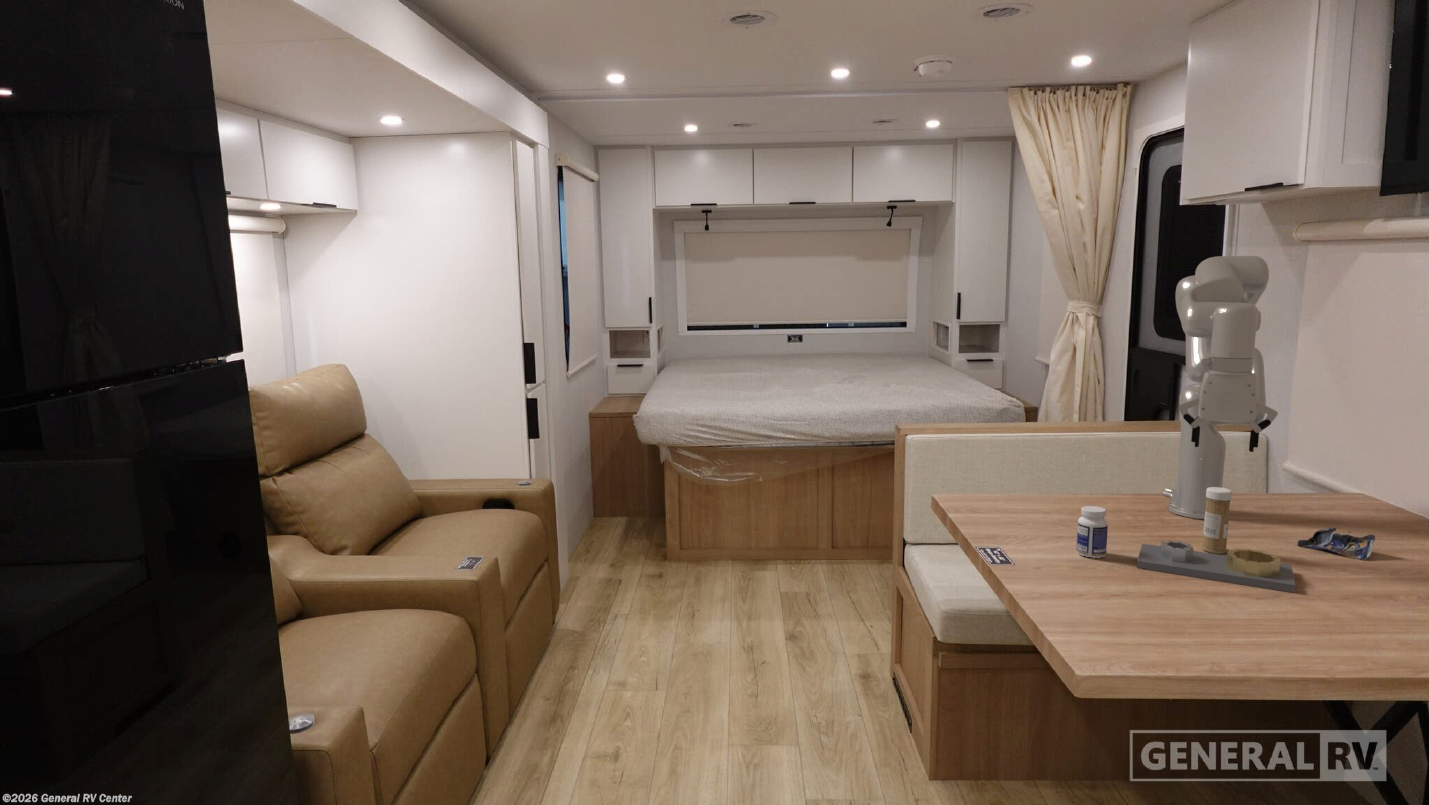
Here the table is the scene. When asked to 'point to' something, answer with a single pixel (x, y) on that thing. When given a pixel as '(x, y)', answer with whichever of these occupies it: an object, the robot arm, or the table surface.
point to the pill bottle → (1092, 532)
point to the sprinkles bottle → (1216, 520)
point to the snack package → (1340, 543)
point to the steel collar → (1176, 551)
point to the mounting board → (1213, 569)
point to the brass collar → (1253, 562)
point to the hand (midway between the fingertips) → (1223, 448)
